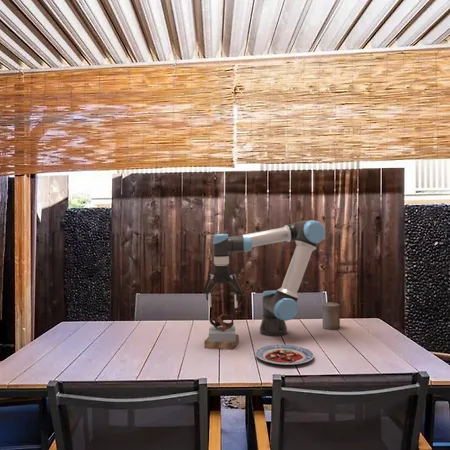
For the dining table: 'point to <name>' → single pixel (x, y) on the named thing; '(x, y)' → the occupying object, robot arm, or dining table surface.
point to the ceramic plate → (284, 354)
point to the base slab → (221, 344)
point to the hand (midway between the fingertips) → (222, 307)
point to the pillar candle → (331, 315)
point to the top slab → (222, 334)
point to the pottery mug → (220, 322)
